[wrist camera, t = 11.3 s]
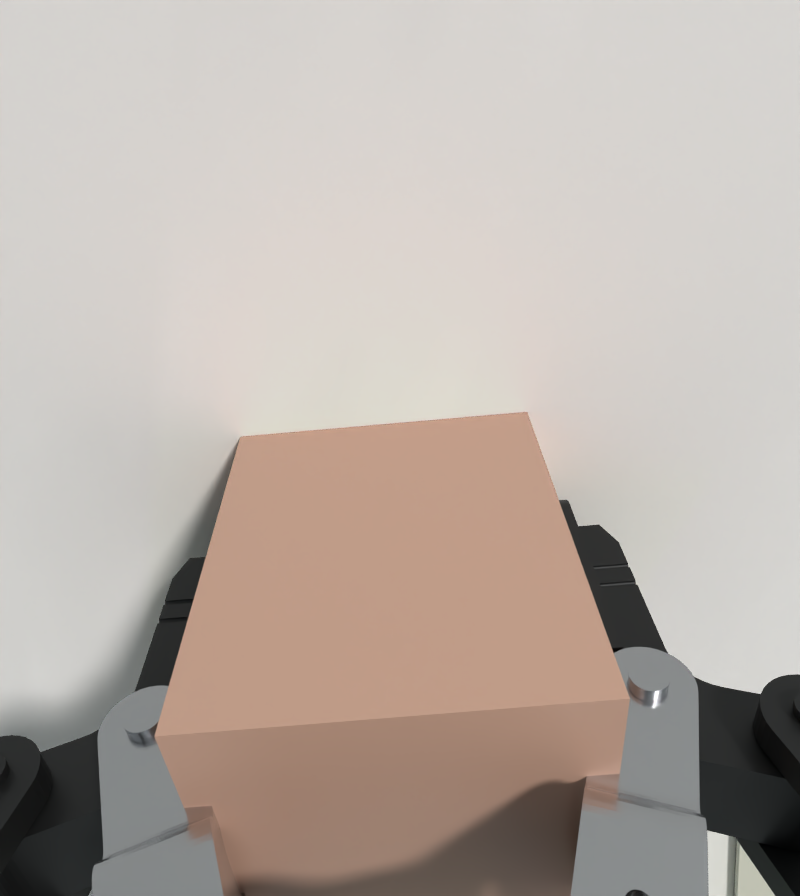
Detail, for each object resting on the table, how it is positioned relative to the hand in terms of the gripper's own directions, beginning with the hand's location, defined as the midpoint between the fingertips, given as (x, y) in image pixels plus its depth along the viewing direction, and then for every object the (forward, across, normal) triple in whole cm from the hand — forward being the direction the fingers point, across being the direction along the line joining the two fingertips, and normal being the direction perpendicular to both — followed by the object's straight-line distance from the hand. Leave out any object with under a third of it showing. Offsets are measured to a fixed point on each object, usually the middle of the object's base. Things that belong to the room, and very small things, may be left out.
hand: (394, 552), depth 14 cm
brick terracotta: (0, 0, 0) cm, 0 cm away
